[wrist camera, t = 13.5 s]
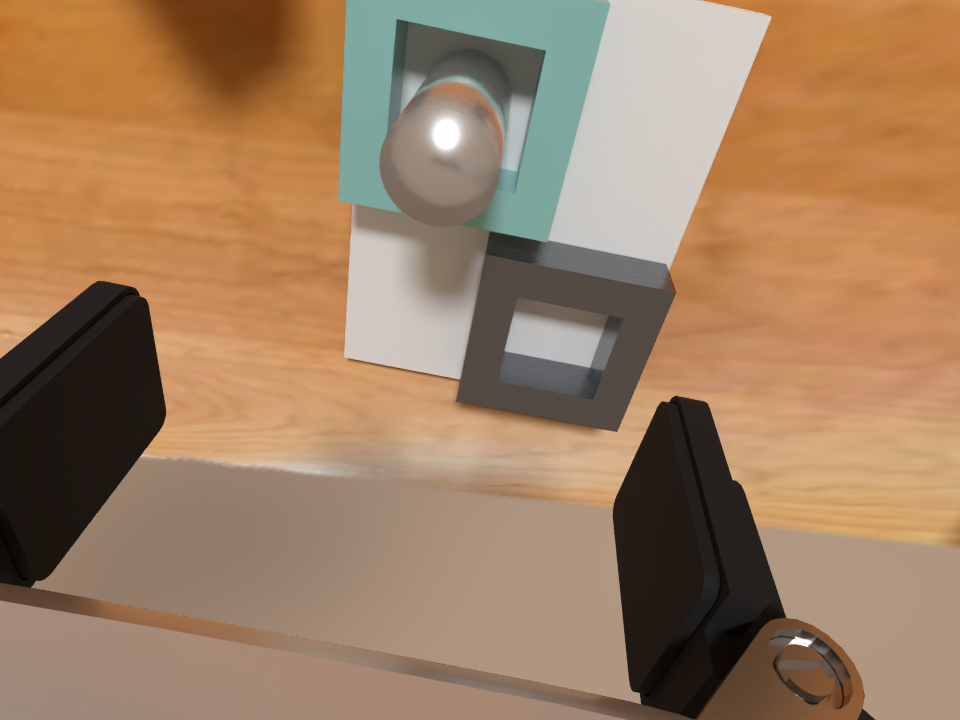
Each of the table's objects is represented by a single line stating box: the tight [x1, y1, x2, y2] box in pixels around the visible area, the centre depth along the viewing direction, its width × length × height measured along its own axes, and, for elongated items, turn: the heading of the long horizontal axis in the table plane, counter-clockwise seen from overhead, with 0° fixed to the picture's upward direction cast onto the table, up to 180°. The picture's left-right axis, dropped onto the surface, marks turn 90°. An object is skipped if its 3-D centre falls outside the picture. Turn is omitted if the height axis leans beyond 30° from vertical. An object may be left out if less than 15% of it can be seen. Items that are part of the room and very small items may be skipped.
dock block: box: [338, 0, 610, 242], centre depth 27 cm, size 10×10×3 cm
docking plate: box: [344, 0, 771, 379], centre depth 32 cm, size 17×22×1 cm
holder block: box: [456, 231, 676, 432], centre depth 34 cm, size 10×10×3 cm
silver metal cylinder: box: [379, 49, 512, 227], centre depth 25 cm, size 4×4×10 cm
